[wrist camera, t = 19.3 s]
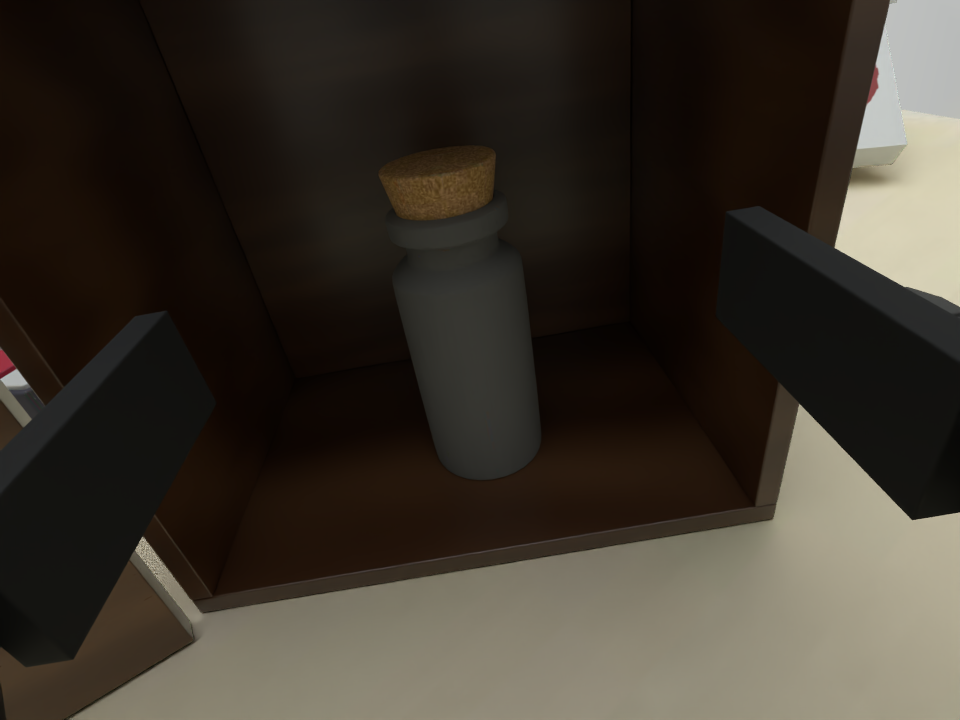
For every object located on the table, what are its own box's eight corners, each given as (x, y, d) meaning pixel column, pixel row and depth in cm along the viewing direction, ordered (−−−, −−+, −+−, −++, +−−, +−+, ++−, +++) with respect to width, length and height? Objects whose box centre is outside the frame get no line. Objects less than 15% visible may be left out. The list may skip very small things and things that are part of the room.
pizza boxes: (718, 198, 58) (736, 1, 48) (687, 136, 82) (695, -3, 72) (924, 182, 53) (991, -41, 43) (827, 121, 77) (857, -31, 67)
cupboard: (773, 519, 24) (993, -447, 10) (200, 613, 24) (-404, -185, 10) (639, 325, 39) (647, -159, 25) (289, 384, 39) (100, -59, 25)
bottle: (421, 476, 28) (336, 187, 20) (454, 405, 32) (398, 147, 24) (531, 487, 26) (488, 175, 18) (550, 411, 30) (523, 135, 22)
